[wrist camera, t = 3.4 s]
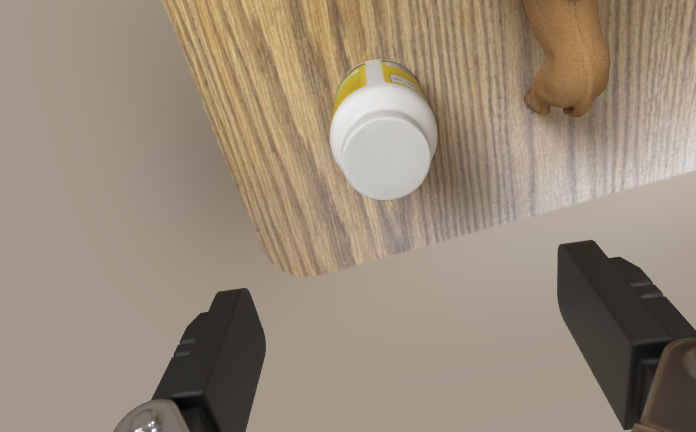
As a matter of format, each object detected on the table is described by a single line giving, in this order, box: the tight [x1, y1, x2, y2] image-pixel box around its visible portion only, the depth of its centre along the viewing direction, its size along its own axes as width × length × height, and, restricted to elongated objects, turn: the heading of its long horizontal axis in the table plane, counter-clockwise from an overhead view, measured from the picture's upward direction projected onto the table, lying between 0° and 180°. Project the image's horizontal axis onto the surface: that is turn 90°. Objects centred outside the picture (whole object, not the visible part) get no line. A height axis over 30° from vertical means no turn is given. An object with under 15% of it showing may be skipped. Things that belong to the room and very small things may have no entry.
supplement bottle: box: [330, 59, 438, 201], centre depth 26 cm, size 5×5×10 cm
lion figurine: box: [522, 0, 610, 117], centre depth 23 cm, size 15×5×9 cm, turn 35°
